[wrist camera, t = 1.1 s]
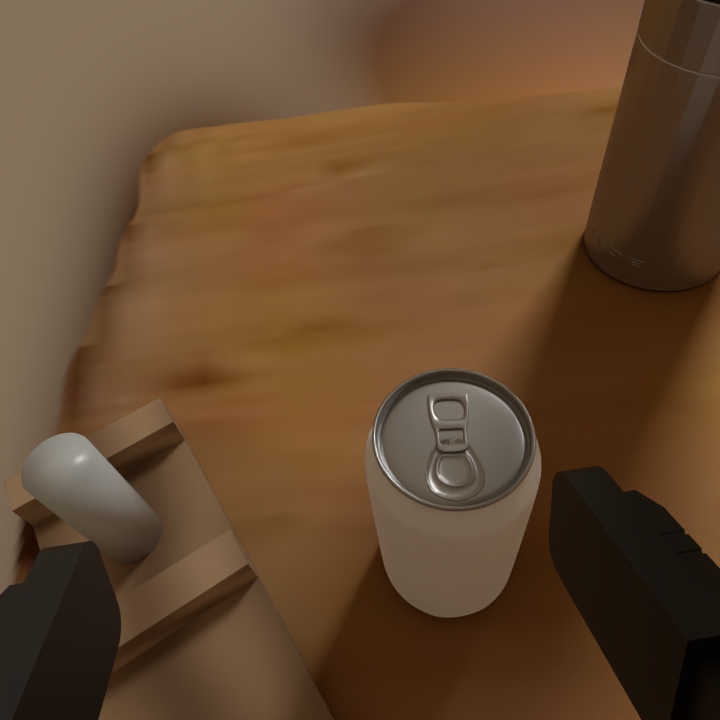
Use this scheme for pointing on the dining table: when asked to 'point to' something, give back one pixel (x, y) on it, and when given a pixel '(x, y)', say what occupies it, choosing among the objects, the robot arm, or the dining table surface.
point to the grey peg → (91, 497)
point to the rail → (218, 641)
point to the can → (451, 487)
